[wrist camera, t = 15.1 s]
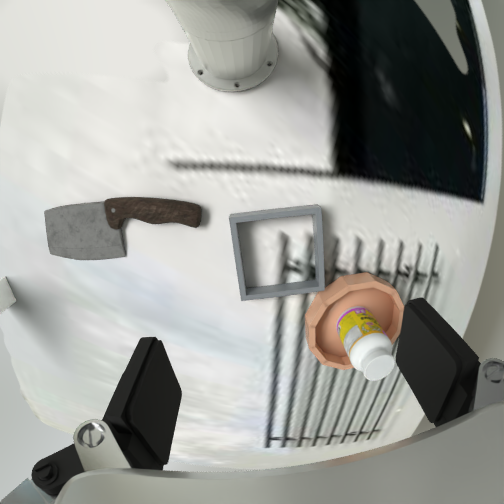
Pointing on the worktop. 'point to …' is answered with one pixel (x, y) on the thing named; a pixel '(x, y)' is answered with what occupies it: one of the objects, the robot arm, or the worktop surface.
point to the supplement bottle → (365, 343)
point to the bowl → (340, 299)
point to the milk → (5, 295)
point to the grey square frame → (288, 287)
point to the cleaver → (109, 224)
